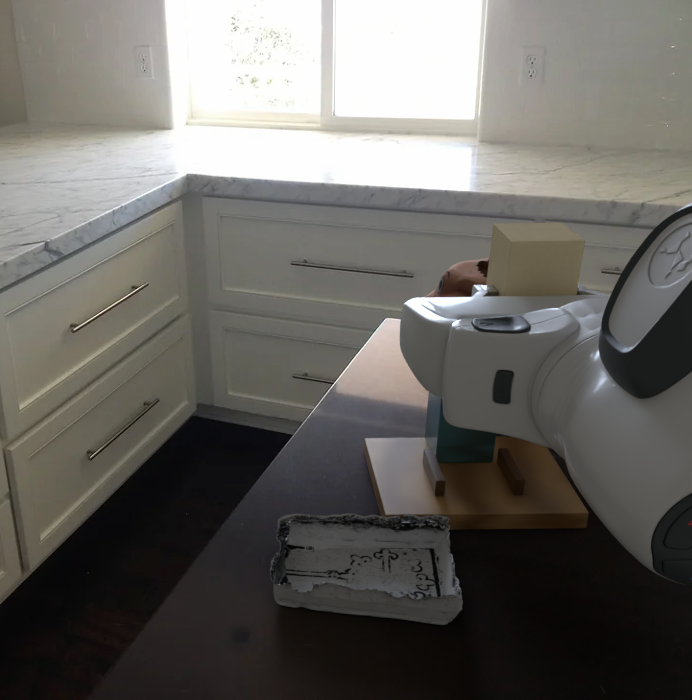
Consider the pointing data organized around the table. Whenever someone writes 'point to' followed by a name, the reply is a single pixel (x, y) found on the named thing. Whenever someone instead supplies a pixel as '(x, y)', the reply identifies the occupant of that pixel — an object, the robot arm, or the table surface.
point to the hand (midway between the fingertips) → (523, 293)
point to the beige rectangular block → (534, 259)
